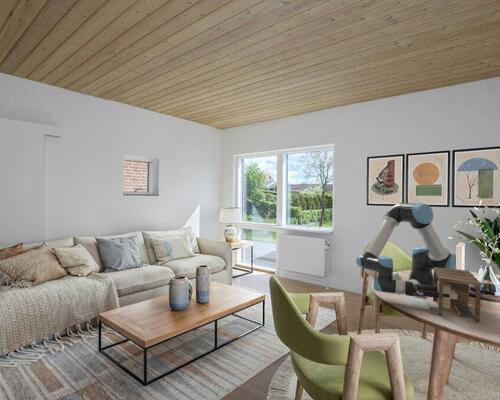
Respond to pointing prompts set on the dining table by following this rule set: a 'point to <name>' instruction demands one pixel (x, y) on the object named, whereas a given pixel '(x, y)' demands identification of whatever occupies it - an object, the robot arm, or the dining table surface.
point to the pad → (417, 304)
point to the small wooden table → (458, 290)
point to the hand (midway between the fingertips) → (456, 294)
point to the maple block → (445, 289)
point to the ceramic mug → (414, 283)
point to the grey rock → (396, 276)
